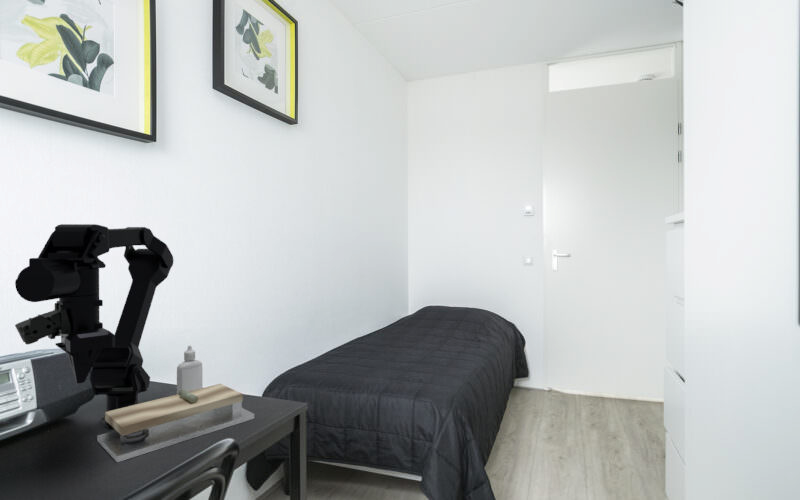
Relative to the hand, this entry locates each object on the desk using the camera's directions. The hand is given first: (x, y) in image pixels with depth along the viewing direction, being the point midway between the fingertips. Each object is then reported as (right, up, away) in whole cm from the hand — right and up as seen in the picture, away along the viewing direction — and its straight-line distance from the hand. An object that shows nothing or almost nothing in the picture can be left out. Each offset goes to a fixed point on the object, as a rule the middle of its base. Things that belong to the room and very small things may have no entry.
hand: (80, 382), depth 77 cm
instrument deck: (+13, -8, +8) cm, 17 cm away
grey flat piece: (+13, -12, +8) cm, 20 cm away
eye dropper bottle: (+6, -12, +29) cm, 32 cm away
